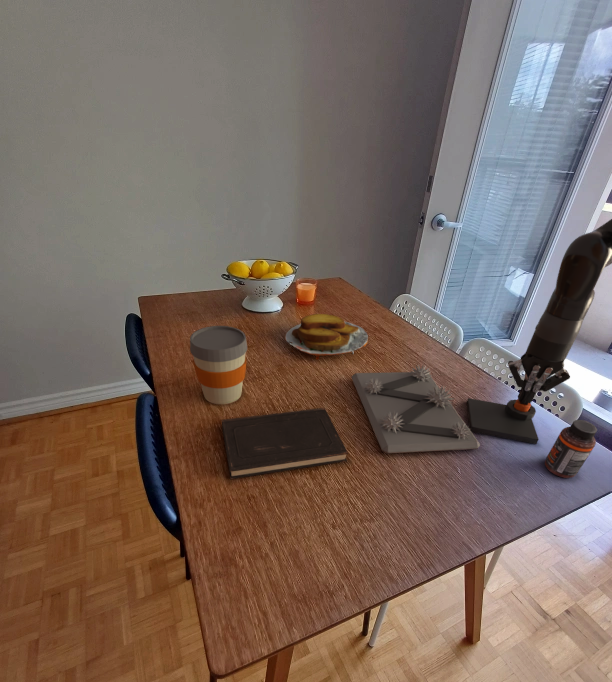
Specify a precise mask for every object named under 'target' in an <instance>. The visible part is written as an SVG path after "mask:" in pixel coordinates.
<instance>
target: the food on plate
mask: <svg viewBox="0 0 612 682" xmlns="http://www.w3.org/2000/svg"><path fill="white" fill-rule="evenodd" d="M369 337H370V335H368V332H367V331H366V330H365V328H363V327H361V326H359V325H358V324H355V323H352V322H348V321H345V320H344V318H342V317H339V316H337V315H334V314H328V313H314V314H309V315H305V316H303V317H302V318H301V319H300V323H299V324H296V325H294V326H292V327H291V328H289V330H288V331H287V332H286V333H285V334H284V340H285V342H287V343H288V344H289V345H291V346H293V347H294V348H295V349H297V350H299V351H301V353H306V354H307V355H308V354H309V356H311V355H312V356H315V360H317V361H319V359H320V357H321V356H322V357H325V356H335V355H338V356H339V355H340V354H341V355H344V354H348V353H351V352H352V355H354V352H355V351H357V350H360V349H362V348H363V347H366V346H367V345H368V341H369V340H370V339H369ZM291 352H292V353H293V352H294V351H293V350H291Z"/></svg>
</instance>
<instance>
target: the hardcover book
mask: <svg viewBox="0 0 612 682" xmlns="http://www.w3.org/2000/svg"><path fill="white" fill-rule="evenodd" d="M220 421H221V429H222V436H223V441H224V449H225V453H226V461H227V465H228V472H229V478H230V480H233V479H235V480H236V479H241V478H246V477H253V476H260V475H266V474H273V473H279V472H280V473H281V472H287V471H292V470H293V471H294V470H299V469H305V468H306V469H307V468H313V467H318V466H325V465H332V464H338V463H339V464H340V463H344V462H348V460H347V458H346V457H347V455H349V452H348V450H347V448H346V446H345V445H344V443H343V440H342V439H341V436H340V435H339V433H338V431H337V429H336V427H335V425H334V423H333V421H332V419H331V418H330V416H329V413H328V412H327V410H326V408H325V407H318V408H317V407H316V408H310V409H309V408H308V409H301V410H300V409H299V410H293V411H285V412H276V413H268V414H267V413H266V414H258V415H251V416H241V417H234V418H233V417H232V418H226V419H221V420H220Z"/></svg>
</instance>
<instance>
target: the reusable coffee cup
mask: <svg viewBox="0 0 612 682" xmlns="http://www.w3.org/2000/svg"><path fill="white" fill-rule="evenodd" d="M189 351H190V354H191V355H192V358H193V359H192V365H193V368H194V371H195V375H196V378H197V381H198V383H199V384H200V387H201V389H202V394H203V398H204V399H205V401H208V402H209V403H211V404H215V405H228V404H232V403H235V402H236V401H238V400H239V399H240V398H241V397H242V393H243V383H244V380H245V378H246V371H247V359H248V358H247V356H246V353H247V351H248V342H247V335H246V333H245V332H244V331H242V330H241V329H240V328H237V327H233V326H228V325H211V326H205V327H202V328H199V329H197V330H195V331H193V332H192V333H191V335H190V337H189Z"/></svg>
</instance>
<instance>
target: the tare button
mask: <svg viewBox="0 0 612 682" xmlns="http://www.w3.org/2000/svg"><path fill="white" fill-rule="evenodd" d="M515 400H516V402H515V404H514V408H515V409H517V410H519V411H522V412H528V410H529V408H530V406H531V405H532V402H531V403H528V405H524V404H520V401H519V400H518V398H517V399H515Z"/></svg>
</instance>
